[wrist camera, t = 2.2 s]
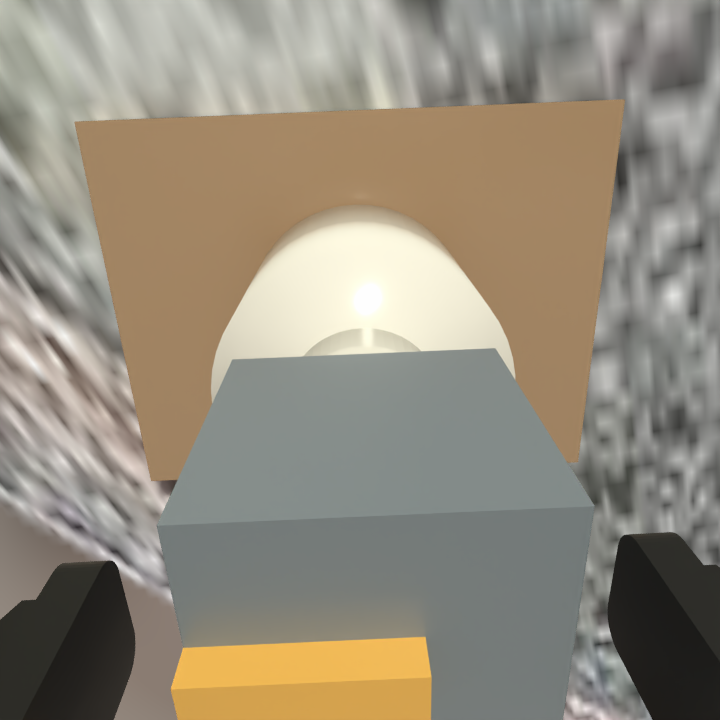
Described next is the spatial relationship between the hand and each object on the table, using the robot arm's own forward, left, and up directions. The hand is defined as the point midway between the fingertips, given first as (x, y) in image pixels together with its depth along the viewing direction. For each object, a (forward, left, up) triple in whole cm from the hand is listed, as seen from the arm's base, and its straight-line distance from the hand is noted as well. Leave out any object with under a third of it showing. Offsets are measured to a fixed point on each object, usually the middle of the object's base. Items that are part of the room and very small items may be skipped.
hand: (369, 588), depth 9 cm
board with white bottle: (0, 0, -15) cm, 15 cm away
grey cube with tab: (0, 0, -3) cm, 3 cm away
